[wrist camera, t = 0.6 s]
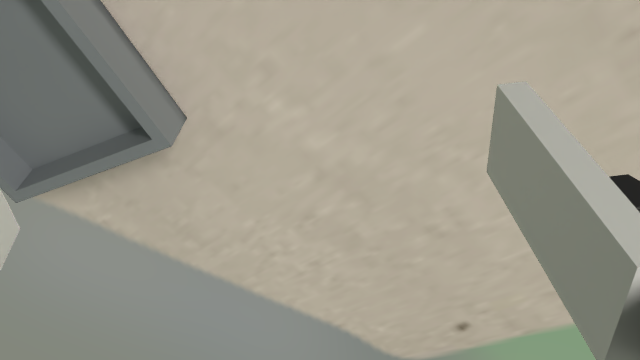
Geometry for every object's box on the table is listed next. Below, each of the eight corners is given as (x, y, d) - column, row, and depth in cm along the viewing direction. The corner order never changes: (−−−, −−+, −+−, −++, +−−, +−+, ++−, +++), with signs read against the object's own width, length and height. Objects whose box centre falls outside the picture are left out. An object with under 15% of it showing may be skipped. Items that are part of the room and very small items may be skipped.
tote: (-123, 12, 41) (-161, 34, 38) (35, -89, 35) (3, -70, 32) (37, 175, 50) (16, 203, 47) (187, 117, 43) (171, 146, 41)
